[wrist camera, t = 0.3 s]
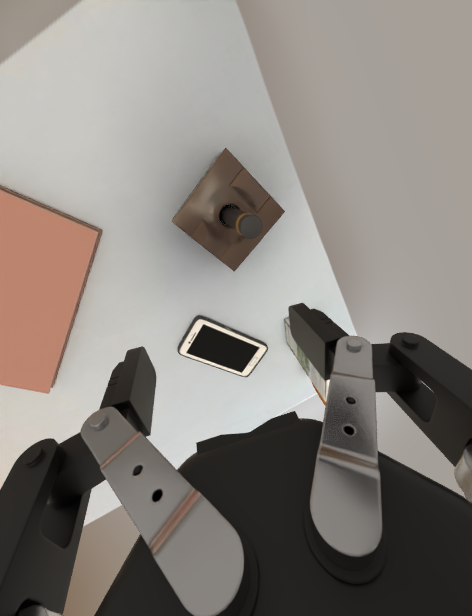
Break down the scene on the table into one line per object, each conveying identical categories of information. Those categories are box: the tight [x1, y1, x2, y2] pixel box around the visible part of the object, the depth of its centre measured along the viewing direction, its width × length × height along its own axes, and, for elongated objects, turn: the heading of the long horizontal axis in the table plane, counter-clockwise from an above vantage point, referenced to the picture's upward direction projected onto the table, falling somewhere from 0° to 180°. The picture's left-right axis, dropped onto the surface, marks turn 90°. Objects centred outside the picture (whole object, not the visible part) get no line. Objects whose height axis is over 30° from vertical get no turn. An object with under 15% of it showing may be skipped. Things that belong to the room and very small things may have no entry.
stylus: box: [219, 206, 263, 239], centre depth 27 cm, size 2×2×14 cm
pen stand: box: [172, 148, 285, 271], centre depth 31 cm, size 10×10×4 cm
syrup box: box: [285, 318, 330, 402], centre depth 37 cm, size 6×6×14 cm
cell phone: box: [178, 316, 268, 377], centre depth 42 cm, size 8×15×1 cm, turn 58°
